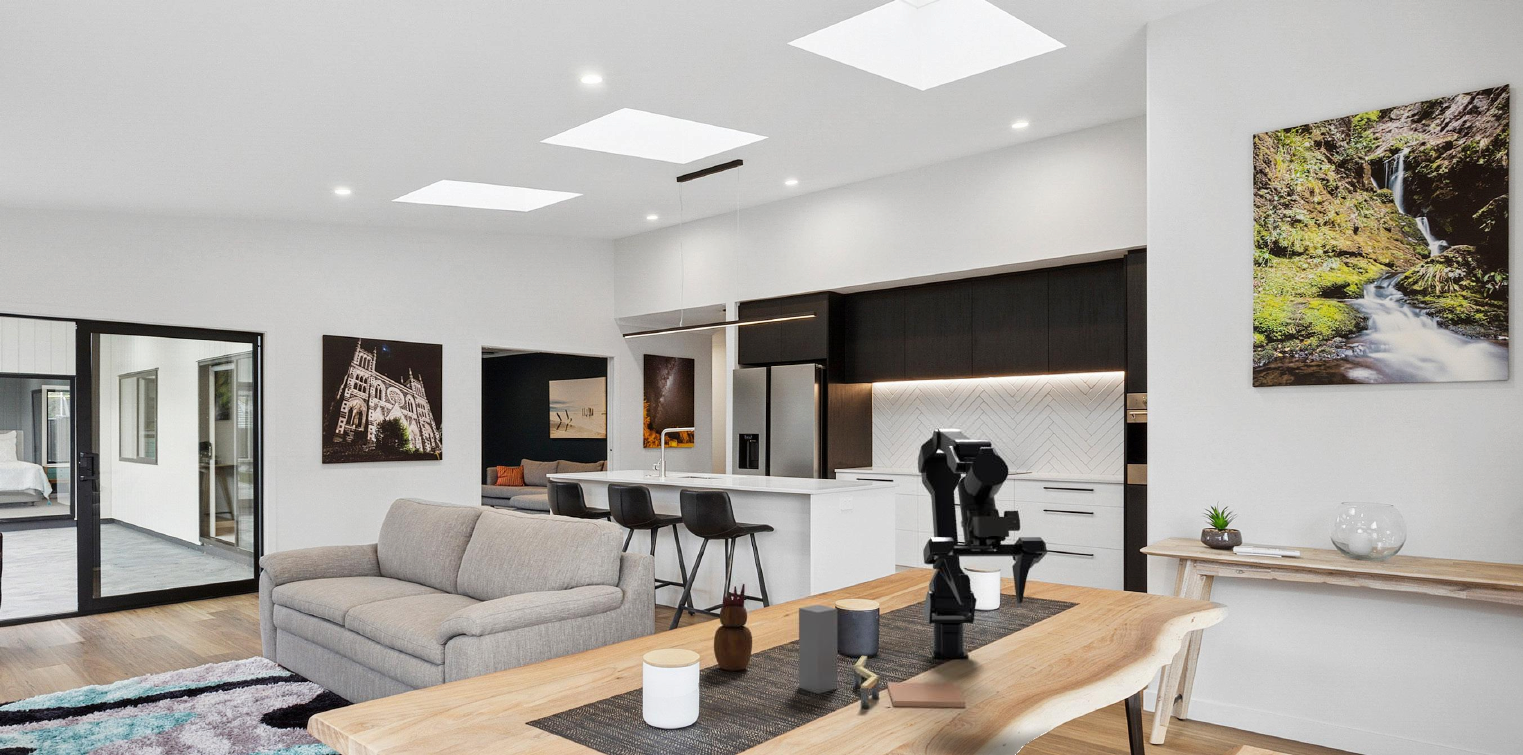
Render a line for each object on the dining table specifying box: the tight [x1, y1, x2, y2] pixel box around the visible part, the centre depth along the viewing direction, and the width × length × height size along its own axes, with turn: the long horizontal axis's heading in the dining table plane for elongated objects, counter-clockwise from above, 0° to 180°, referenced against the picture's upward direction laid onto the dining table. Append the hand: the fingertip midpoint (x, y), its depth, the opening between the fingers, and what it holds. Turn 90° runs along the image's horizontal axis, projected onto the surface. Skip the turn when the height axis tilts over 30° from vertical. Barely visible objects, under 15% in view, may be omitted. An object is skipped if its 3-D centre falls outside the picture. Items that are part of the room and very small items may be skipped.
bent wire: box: [853, 655, 880, 710], centre depth 146 cm, size 18×4×3 cm, turn 177°
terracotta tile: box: [887, 681, 966, 708], centre depth 143 cm, size 10×11×1 cm
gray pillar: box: [798, 604, 839, 694], centre depth 149 cm, size 4×4×13 cm
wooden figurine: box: [713, 583, 753, 672], centre depth 160 cm, size 7×6×15 cm
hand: (991, 603), depth 140 cm, fingers open, 9 cm apart
